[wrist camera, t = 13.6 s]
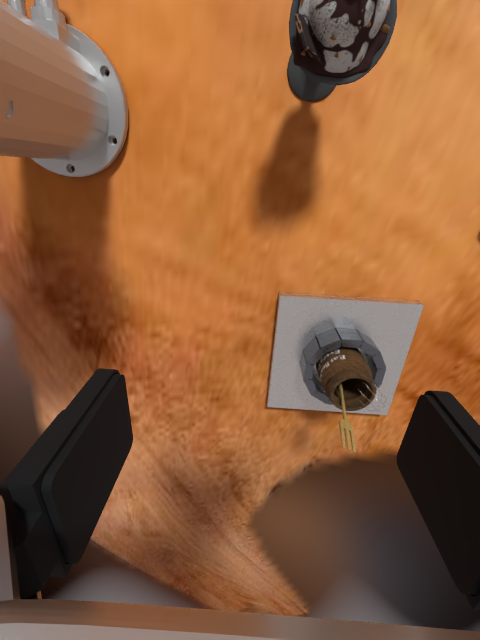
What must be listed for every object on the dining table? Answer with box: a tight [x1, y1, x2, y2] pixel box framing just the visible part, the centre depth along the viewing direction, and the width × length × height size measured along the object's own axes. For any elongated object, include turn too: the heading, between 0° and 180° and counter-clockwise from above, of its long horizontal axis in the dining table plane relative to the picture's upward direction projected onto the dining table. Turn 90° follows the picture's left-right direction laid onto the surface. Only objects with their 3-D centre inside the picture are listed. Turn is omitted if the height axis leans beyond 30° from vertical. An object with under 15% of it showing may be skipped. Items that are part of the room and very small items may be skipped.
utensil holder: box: [316, 347, 386, 452], centre depth 35 cm, size 6×6×12 cm
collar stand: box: [267, 292, 424, 415], centre depth 39 cm, size 17×17×4 cm
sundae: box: [287, 0, 397, 101], centre depth 22 cm, size 7×7×15 cm
